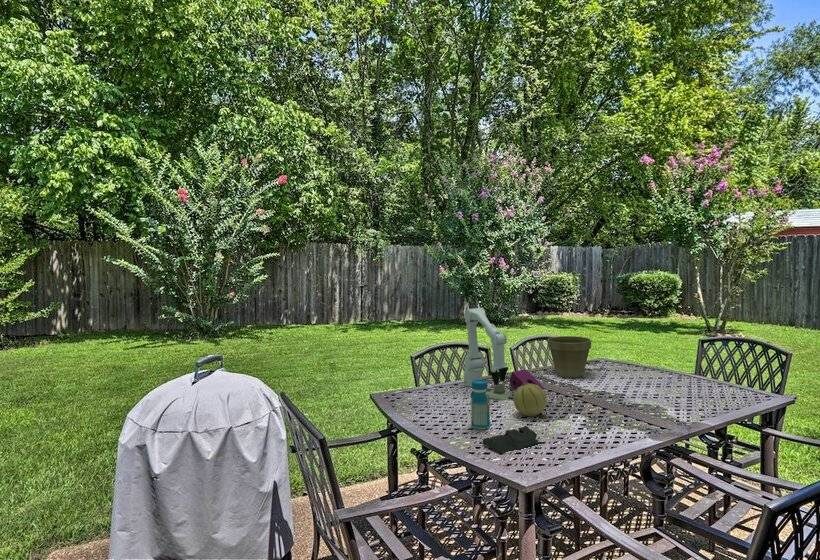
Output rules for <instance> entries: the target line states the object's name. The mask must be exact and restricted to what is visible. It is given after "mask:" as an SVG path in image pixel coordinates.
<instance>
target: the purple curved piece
mask: <svg viewBox="0 0 820 560" xmlns="http://www.w3.org/2000/svg"><path fill="white" fill-rule="evenodd" d="M522 383H525V384H535V385H537V386H539V387H540V388H541V389H542V390H543V391H544V386H543V385H542V383H540V381H538V380H537V379H536V378H535V377H534V376H533V375H532V374H531V373H530V372H529V371H528V370H527V369H525V368H524V369H520V370H514V371H512V372H511V374H510V378H509V385H510V387H511V389H512V388H513V390H514V389H517V388H518V387H520V386H521V385H522Z"/></svg>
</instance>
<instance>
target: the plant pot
mask: <svg viewBox="0 0 820 560" xmlns="http://www.w3.org/2000/svg"><path fill="white" fill-rule="evenodd" d="M547 348H548V349H549V351H550V355H551V358H552V362H553V366H554V369H555V373H556V375H557V376H558V377H561V378H565V379H578V378H582V377H583V375H584V373H585V369H586V365H587V360H588V357H589V353H590V350H591V349H592V339H591V338H588V337H584V336H583V337H582V336H573V335H572V336H571V335H569V336H568V335H566V336H565V335H564V336H563V335H562V336H561V335H560V336H553V337H549V338H547Z"/></svg>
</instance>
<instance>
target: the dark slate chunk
mask: <svg viewBox="0 0 820 560" xmlns="http://www.w3.org/2000/svg"><path fill="white" fill-rule="evenodd" d="M517 428H518V429H515V428H512V429H511V430H510V429H508V430H505V433H504V434H498V435H495V436H491V437H485V438H482V443H483V444H485V445H486V446H488V447H489V448H490V449H491V450H492V451H493V450H494V451H493V452H494V453H496V452H498V453H505V452H508V451H514V450H520V451H522V450H521V449H524V448H528V447H532V446H535V445H538V444H541V445H542V442H541V443H540V441H539V440H538V439H537V436H538V434H537V433H536V431H533V430H532V429H530V428H529V426H527V425H525V426H522V427H517ZM538 441H539V442H538ZM535 447H536V446H535ZM532 448H533V447H532ZM528 449H529V448H528ZM524 450H525V449H524ZM498 453H497V454H498Z"/></svg>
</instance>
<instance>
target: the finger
mask: <svg viewBox="0 0 820 560" xmlns="http://www.w3.org/2000/svg"><path fill="white" fill-rule="evenodd" d="M493 388H494V393H500V394H503V393H504V392H505V390H506V385H505V384H504V383H503V384H501V383H499V384H498V385H493Z"/></svg>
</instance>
